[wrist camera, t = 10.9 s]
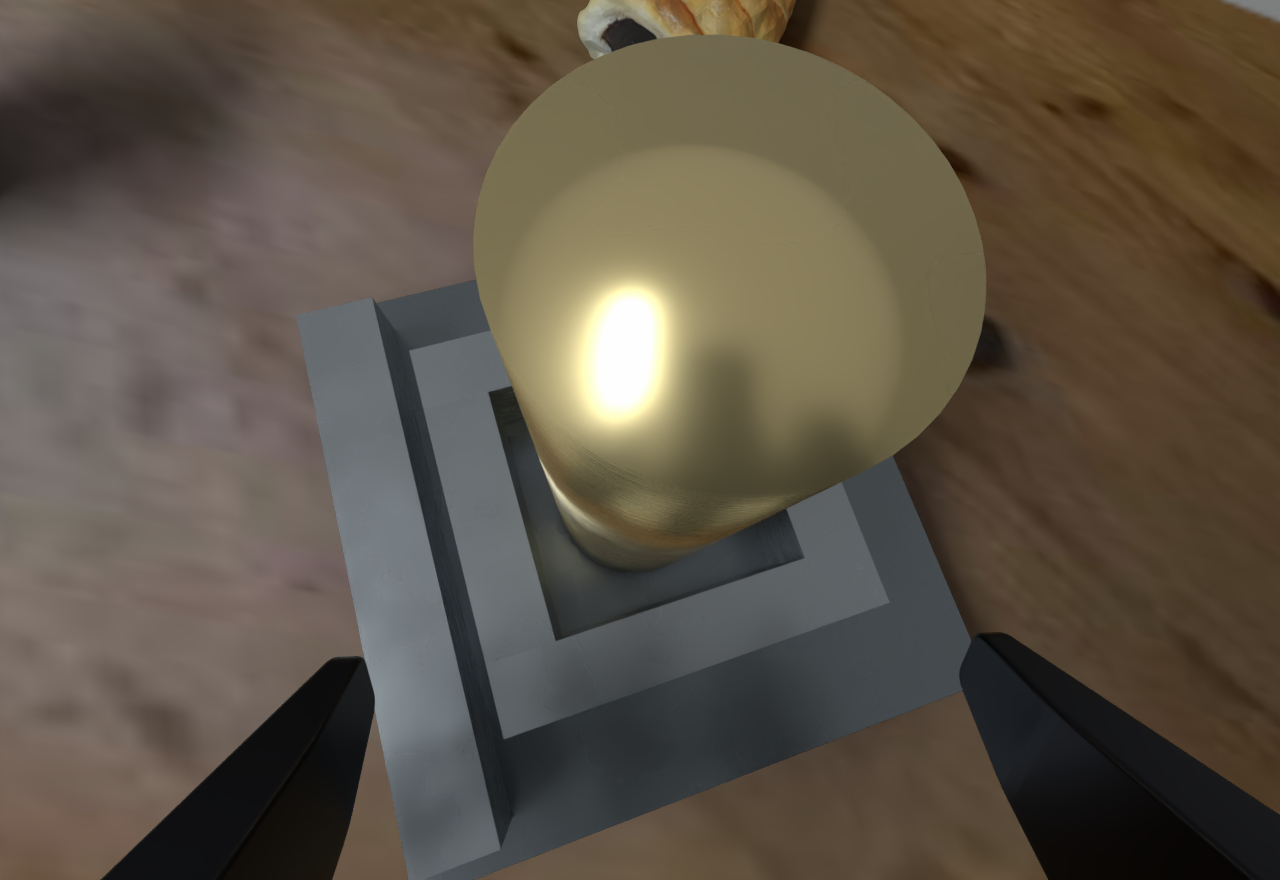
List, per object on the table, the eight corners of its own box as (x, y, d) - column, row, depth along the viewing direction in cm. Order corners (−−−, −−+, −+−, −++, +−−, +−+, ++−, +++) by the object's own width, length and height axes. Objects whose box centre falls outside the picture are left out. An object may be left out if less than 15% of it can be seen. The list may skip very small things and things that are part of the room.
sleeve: (739, 494, 18) (1079, 245, 5) (638, 606, 17) (767, 620, 4) (631, 395, 18) (714, -39, 6) (527, 497, 17) (358, 232, 5)
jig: (957, 674, 19) (1069, 696, 14) (437, 873, 16) (380, 973, 12) (774, 232, 22) (819, 142, 18) (325, 340, 20) (250, 267, 15)
